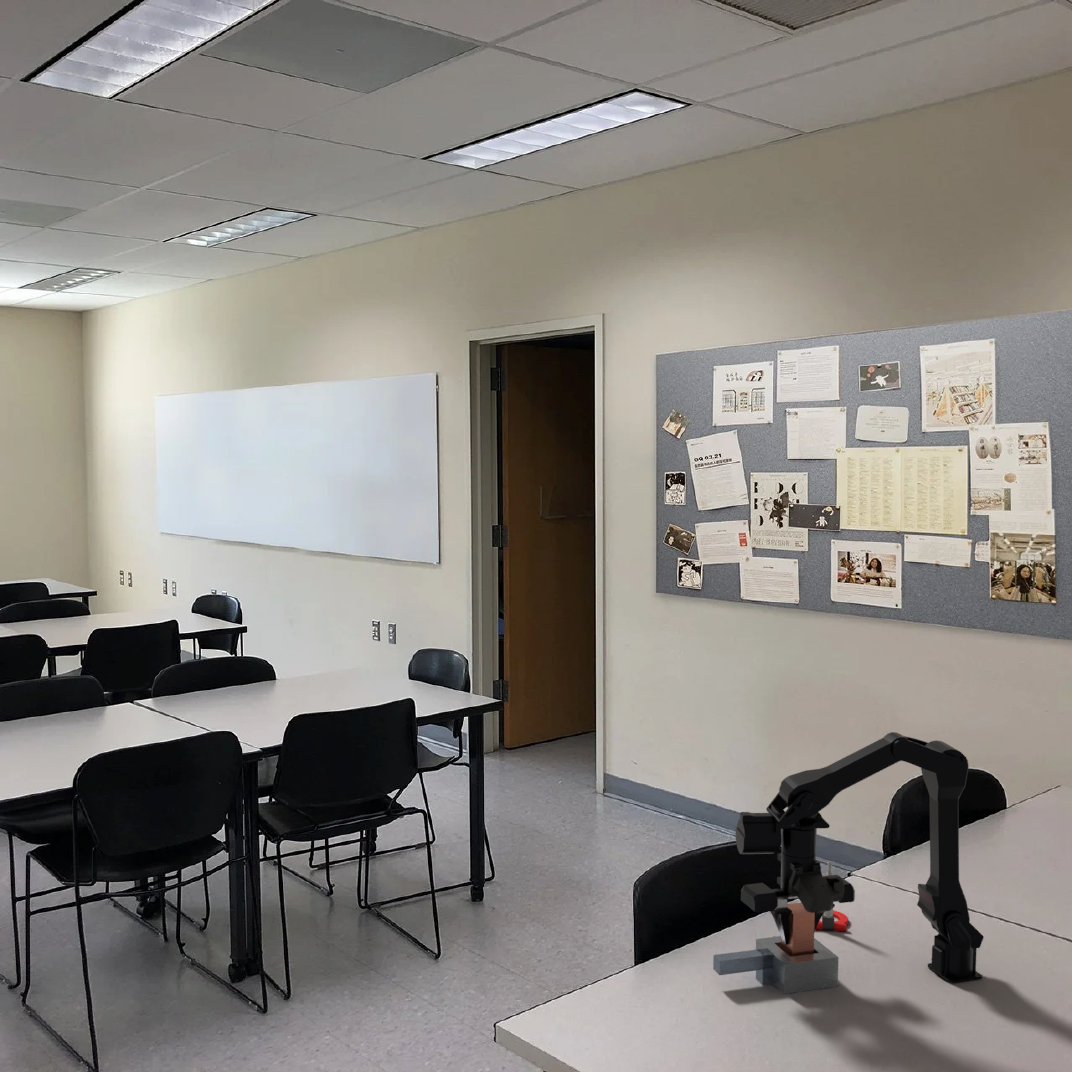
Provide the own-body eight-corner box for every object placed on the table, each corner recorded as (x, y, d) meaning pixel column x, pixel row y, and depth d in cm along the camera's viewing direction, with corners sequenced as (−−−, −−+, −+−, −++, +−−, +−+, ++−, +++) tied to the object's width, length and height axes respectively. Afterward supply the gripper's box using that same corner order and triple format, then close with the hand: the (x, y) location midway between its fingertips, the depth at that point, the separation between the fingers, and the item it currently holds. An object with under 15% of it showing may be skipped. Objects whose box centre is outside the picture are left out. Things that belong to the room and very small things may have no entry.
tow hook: (800, 912, 216) (805, 930, 206) (802, 847, 215) (806, 861, 206) (845, 916, 214) (851, 933, 205) (847, 850, 214) (853, 864, 205)
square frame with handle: (807, 960, 194) (807, 932, 193) (837, 986, 184) (838, 957, 184) (703, 973, 188) (703, 945, 188) (729, 1001, 179) (729, 971, 178)
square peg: (801, 947, 190) (802, 902, 189) (813, 957, 186) (814, 911, 185) (780, 950, 188) (781, 904, 188) (792, 960, 185) (793, 914, 184)
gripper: (771, 874, 176) (770, 970, 177) (874, 863, 181) (872, 956, 182) (740, 851, 186) (738, 941, 187) (837, 841, 192) (835, 928, 193)
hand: (796, 942), depth 187 cm, fingers closed on square peg, 4 cm apart
